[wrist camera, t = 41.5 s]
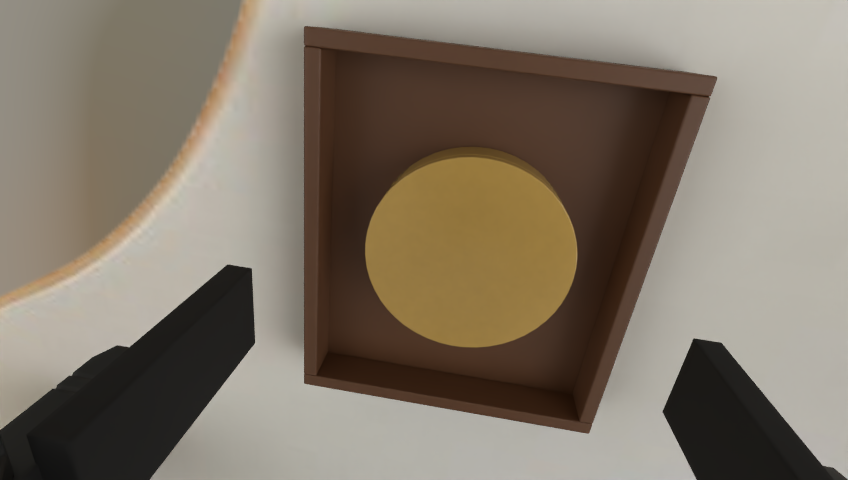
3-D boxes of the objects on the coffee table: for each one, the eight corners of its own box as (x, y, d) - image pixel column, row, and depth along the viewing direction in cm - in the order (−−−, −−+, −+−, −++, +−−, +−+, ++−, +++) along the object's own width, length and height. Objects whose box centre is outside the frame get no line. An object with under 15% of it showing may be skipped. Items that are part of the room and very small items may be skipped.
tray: (579, 399, 22) (589, 434, 20) (319, 354, 23) (303, 384, 21) (689, 72, 16) (718, 76, 14) (324, 27, 17) (303, 26, 15)
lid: (541, 339, 21) (546, 365, 19) (366, 307, 21) (357, 329, 19) (594, 164, 17) (606, 178, 15) (384, 130, 18) (374, 139, 16)
